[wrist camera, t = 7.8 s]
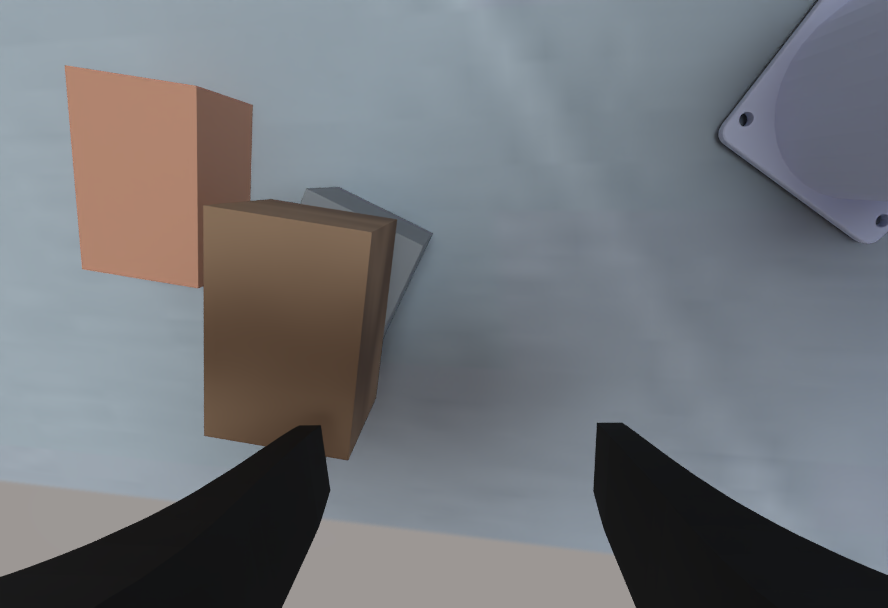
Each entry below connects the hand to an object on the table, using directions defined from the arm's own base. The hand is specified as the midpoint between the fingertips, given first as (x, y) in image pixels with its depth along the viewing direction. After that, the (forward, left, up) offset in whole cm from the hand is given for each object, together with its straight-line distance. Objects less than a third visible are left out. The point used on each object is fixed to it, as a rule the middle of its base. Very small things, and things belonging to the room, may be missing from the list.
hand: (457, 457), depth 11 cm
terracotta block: (+1, -14, -10) cm, 17 cm away
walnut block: (+1, -6, -6) cm, 8 cm away
